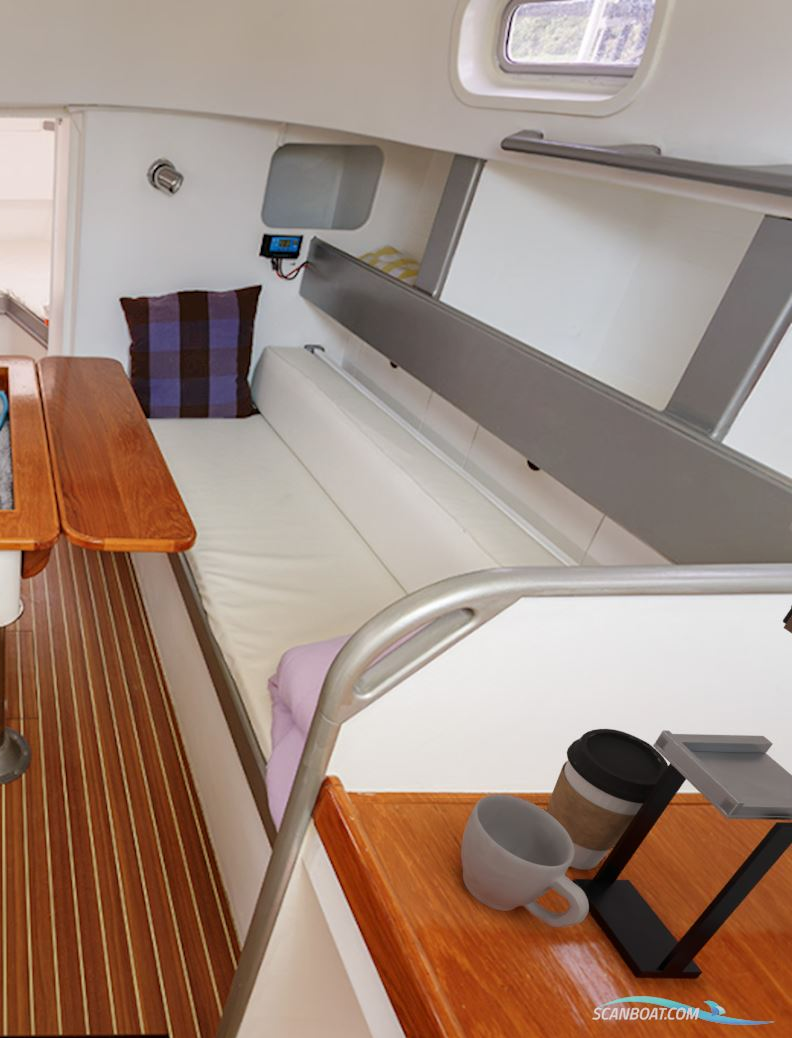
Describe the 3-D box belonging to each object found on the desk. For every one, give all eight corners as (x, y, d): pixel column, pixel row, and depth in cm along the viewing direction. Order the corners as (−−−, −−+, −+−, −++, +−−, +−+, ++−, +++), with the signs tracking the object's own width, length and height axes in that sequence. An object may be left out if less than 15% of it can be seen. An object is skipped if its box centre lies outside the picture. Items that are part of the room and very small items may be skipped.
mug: (426, 866, 81) (455, 807, 76) (482, 841, 84) (513, 783, 79) (528, 970, 71) (569, 910, 66) (588, 938, 74) (630, 878, 69)
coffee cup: (629, 866, 81) (694, 772, 74) (578, 890, 79) (641, 795, 71) (556, 807, 88) (609, 715, 81) (507, 828, 85) (558, 735, 78)
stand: (623, 886, 79) (728, 739, 68) (697, 979, 71) (829, 828, 60) (569, 885, 79) (665, 737, 68) (636, 978, 71) (757, 826, 60)
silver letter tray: (754, 748, 68) (765, 732, 67) (839, 821, 61) (853, 805, 60) (652, 745, 68) (662, 730, 67) (726, 818, 61) (738, 802, 60)
